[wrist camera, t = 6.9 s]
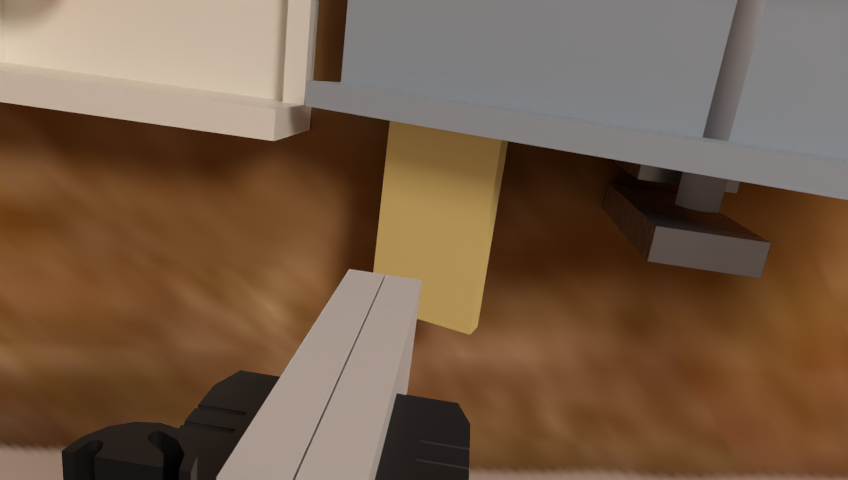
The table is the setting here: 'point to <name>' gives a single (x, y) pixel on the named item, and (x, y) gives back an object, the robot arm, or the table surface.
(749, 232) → the fulcrum
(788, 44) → the lever
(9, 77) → the tray
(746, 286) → the table surface
